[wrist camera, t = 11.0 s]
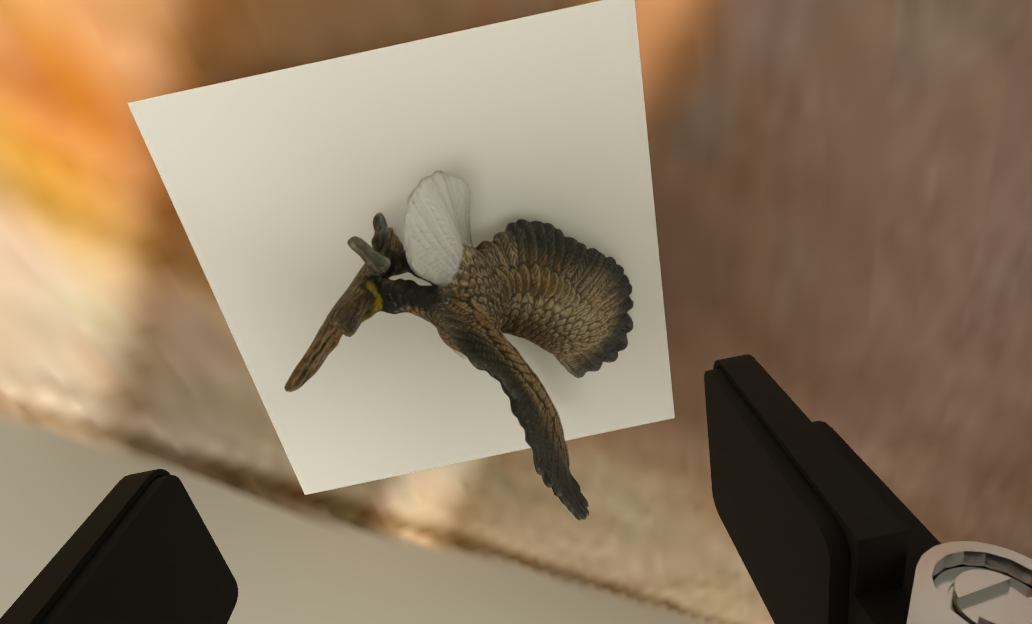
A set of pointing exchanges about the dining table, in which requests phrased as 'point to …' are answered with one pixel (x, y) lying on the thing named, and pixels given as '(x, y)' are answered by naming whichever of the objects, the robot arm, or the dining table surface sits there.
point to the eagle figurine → (490, 307)
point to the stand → (385, 189)
